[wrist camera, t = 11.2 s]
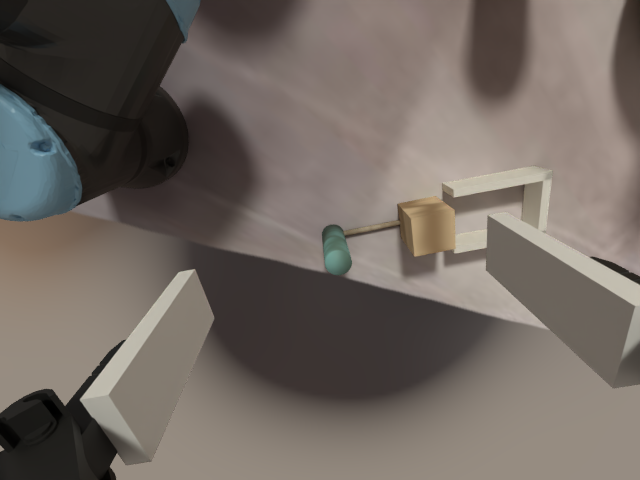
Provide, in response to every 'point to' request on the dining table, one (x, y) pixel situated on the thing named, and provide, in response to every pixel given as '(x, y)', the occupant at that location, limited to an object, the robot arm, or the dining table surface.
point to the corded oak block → (416, 231)
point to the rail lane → (531, 176)
